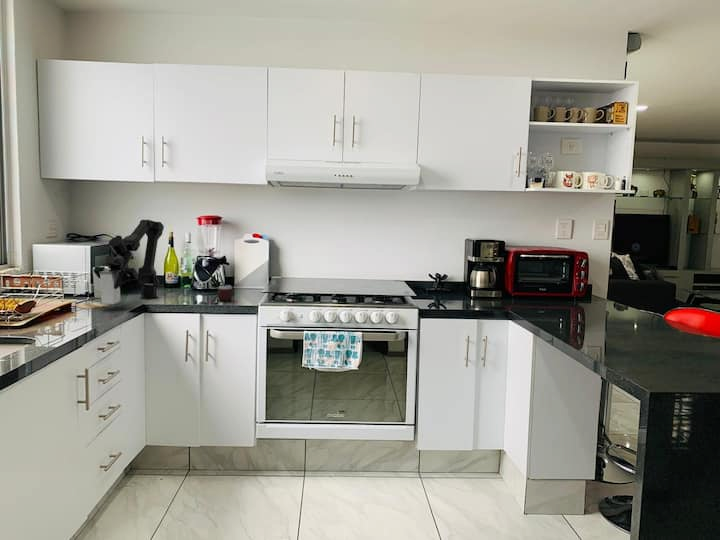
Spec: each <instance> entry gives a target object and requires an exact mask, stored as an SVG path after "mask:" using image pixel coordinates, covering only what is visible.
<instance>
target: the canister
mask: <svg viewBox="0 0 720 540" xmlns="http://www.w3.org/2000/svg"><path fill="white" fill-rule="evenodd" d="M99 274H100V282H101V298H100V299H101V303H104V304H109V305H114V304H118V303H120V302H121V286H120V287H118V288H117V289H115V288H114V287H115V284H116V282H117V280H118V278H119V270H105V271H101V272H99Z"/></svg>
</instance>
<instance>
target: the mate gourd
mask: <svg viewBox="0 0 720 540" xmlns="http://www.w3.org/2000/svg"><path fill="white" fill-rule="evenodd" d="M214 272H215V274H217V275H218V277H219V279H220V283H221V285H219V286H218V289H217V294H218V295H217V296H218V302H219V303H228V302H232V301H233V300H232V298H233V293H234V292H233V287H232V285H231V284H224V283H223V282H224V281H223V280H222V277H221V275H220V274H219V273H218V272H217V271H216V270H214Z"/></svg>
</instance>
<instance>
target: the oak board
mask: <svg viewBox="0 0 720 540" xmlns="http://www.w3.org/2000/svg"><path fill="white" fill-rule="evenodd" d="M74 305H75V306H76V307H75V308H77V307H78V309H83V310H89V309H91V310H92V309H96V308H104V307H103V306H105V307H110V306H109V305H110V304H105V303H102V302H99V301H95V302H87V303H77V304H74Z"/></svg>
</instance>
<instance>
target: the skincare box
mask: <svg viewBox="0 0 720 540" xmlns="http://www.w3.org/2000/svg"><path fill="white" fill-rule="evenodd" d="M95 267H96V266H94V267H92V279H93V281H92V282H93V290H94V292H93V293H94V298H95V299H102V298H101V282H100V278H98V277H97V275H96V274H95V273H94V269H95ZM99 267H105V269H107V270H110V268H109V267H108V266H106V265H105V266H102V265H100V266H99Z"/></svg>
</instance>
